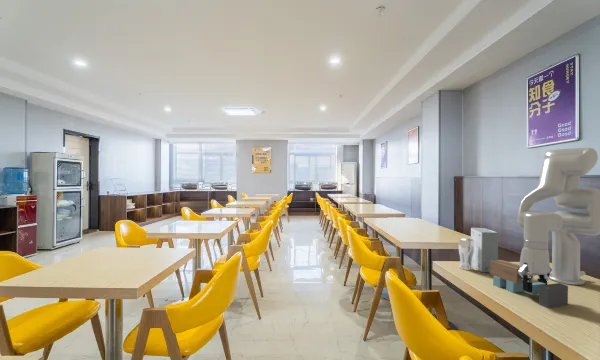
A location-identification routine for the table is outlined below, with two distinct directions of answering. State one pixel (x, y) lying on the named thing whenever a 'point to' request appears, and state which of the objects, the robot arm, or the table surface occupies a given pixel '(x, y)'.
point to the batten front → (514, 287)
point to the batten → (535, 287)
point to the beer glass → (466, 253)
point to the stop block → (553, 295)
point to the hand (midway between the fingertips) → (534, 290)
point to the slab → (506, 271)
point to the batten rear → (499, 282)
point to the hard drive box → (484, 248)
